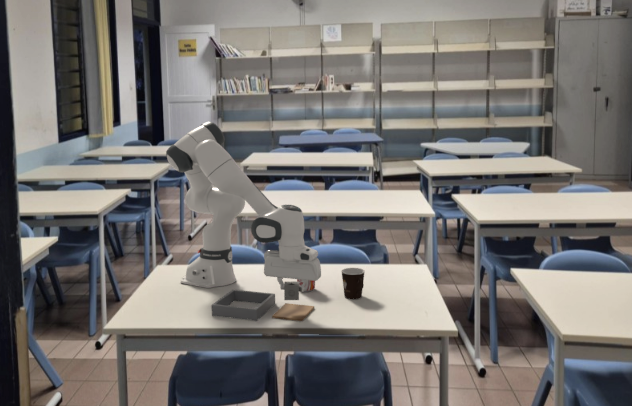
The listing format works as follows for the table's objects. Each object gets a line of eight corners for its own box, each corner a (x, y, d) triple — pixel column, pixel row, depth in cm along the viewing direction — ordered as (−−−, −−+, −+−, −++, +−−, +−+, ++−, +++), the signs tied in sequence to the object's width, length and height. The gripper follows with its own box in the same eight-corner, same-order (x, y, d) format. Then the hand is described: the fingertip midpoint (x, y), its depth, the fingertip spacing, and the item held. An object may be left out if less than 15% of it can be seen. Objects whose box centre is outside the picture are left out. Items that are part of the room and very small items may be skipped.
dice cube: (284, 300, 218) (284, 286, 217) (284, 295, 223) (284, 281, 222) (298, 300, 218) (298, 286, 217) (298, 294, 223) (298, 281, 222)
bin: (211, 315, 221) (211, 304, 221) (233, 299, 237) (232, 289, 236) (256, 320, 216) (256, 309, 215) (275, 304, 232) (275, 293, 231)
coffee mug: (341, 292, 243) (341, 267, 241) (364, 292, 243) (364, 267, 241) (341, 303, 232) (341, 277, 230) (365, 303, 232) (365, 277, 230)
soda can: (313, 293, 243) (312, 263, 241) (295, 292, 245) (294, 262, 242) (316, 287, 250) (316, 258, 248) (299, 286, 251) (298, 257, 249)
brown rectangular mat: (272, 317, 219) (272, 315, 218) (285, 305, 231) (285, 303, 230) (302, 321, 215) (302, 319, 215) (314, 308, 227) (314, 306, 227)
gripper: (260, 251, 219) (261, 290, 221) (316, 256, 212) (316, 295, 215) (267, 247, 225) (268, 284, 227) (322, 251, 218) (322, 290, 221)
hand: (292, 290), depth 221 cm, fingers closed on dice cube, 5 cm apart
